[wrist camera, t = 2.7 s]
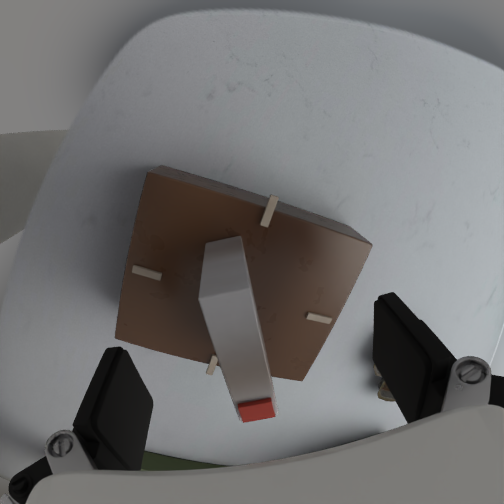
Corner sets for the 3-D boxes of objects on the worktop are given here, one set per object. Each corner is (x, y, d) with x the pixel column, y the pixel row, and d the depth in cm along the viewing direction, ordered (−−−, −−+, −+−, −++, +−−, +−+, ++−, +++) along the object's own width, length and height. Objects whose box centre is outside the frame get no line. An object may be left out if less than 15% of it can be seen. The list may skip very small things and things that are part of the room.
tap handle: (205, 242, 14) (197, 302, 9) (240, 235, 14) (251, 291, 9) (234, 348, 16) (240, 426, 11) (264, 342, 16) (280, 419, 11)
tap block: (126, 318, 18) (112, 348, 15) (163, 153, 15) (150, 158, 12) (289, 358, 21) (299, 390, 18) (355, 217, 17) (380, 234, 14)
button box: (134, 481, 26) (129, 510, 22) (139, 449, 24) (133, 483, 20) (220, 496, 28) (222, 524, 24) (242, 467, 25) (245, 500, 22)
